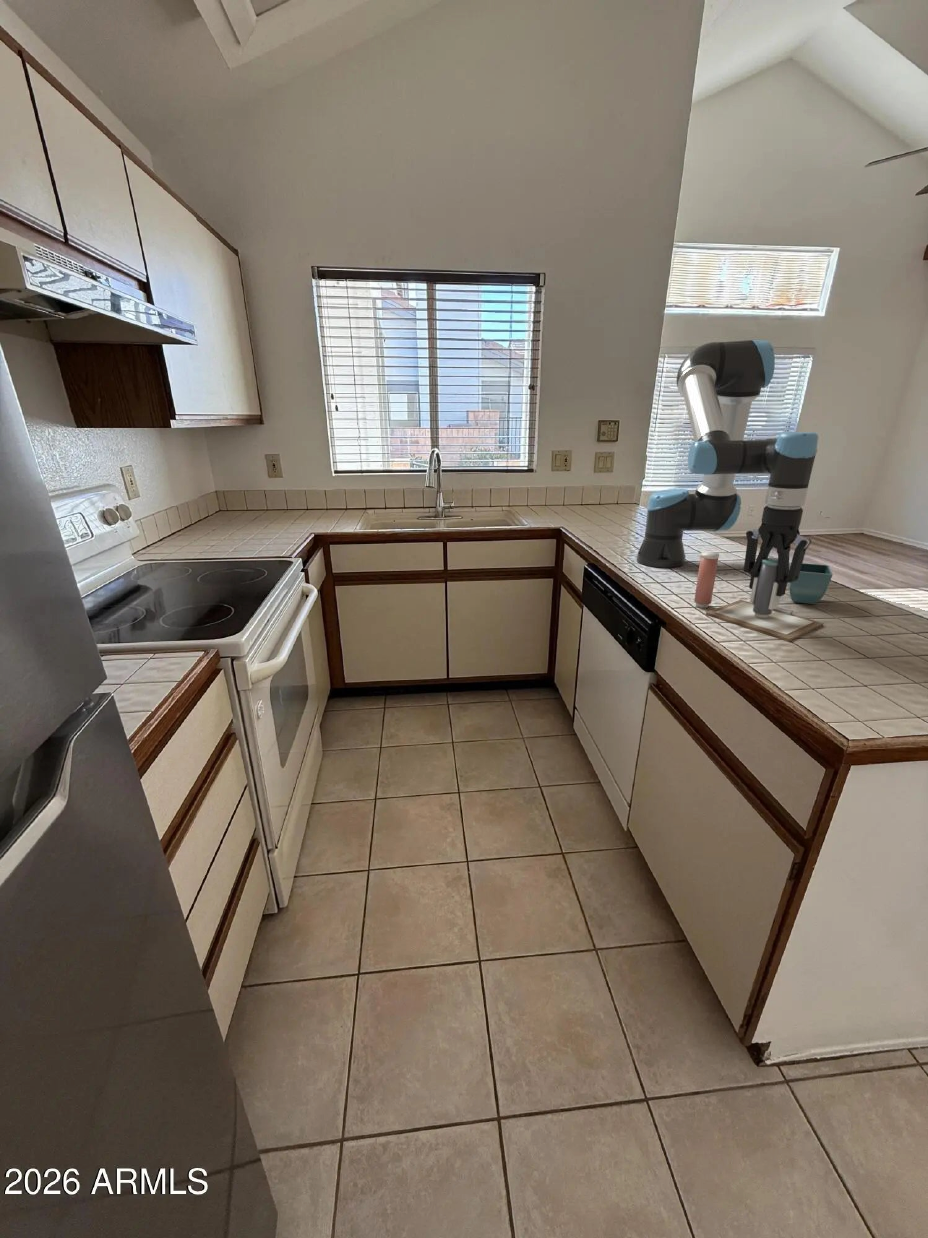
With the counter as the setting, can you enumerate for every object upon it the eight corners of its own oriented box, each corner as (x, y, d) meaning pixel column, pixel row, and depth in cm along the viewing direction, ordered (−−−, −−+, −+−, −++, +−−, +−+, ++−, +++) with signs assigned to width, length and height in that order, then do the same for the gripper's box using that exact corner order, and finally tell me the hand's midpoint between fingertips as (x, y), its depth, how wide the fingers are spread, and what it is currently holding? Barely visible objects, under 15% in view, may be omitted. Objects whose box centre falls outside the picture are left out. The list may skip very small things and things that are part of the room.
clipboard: (705, 614, 128) (706, 609, 127) (740, 601, 135) (741, 596, 134) (788, 641, 112) (790, 635, 111) (822, 625, 119) (824, 620, 119)
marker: (747, 615, 124) (758, 559, 119) (758, 611, 126) (769, 556, 121) (764, 620, 121) (776, 563, 115) (774, 617, 123) (786, 560, 117)
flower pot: (784, 603, 133) (791, 570, 129) (782, 593, 140) (789, 561, 137) (824, 608, 129) (833, 574, 126) (820, 597, 136) (829, 565, 133)
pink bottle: (690, 605, 134) (697, 553, 128) (699, 602, 136) (707, 550, 130) (704, 610, 130) (712, 556, 125) (714, 606, 132) (722, 553, 127)
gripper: (737, 503, 118) (720, 598, 127) (816, 513, 105) (792, 619, 114) (755, 499, 122) (738, 592, 131) (834, 509, 108) (809, 612, 117)
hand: (763, 605), depth 122 cm, fingers closed on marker, 4 cm apart
